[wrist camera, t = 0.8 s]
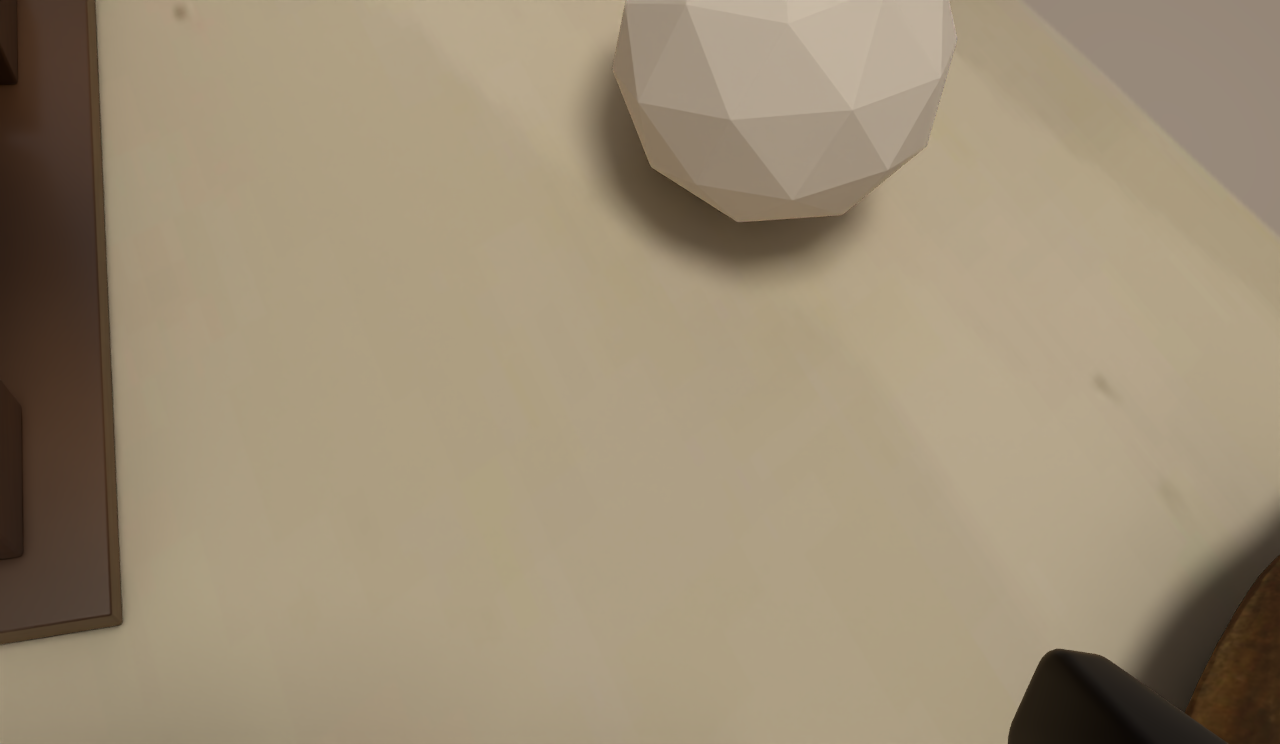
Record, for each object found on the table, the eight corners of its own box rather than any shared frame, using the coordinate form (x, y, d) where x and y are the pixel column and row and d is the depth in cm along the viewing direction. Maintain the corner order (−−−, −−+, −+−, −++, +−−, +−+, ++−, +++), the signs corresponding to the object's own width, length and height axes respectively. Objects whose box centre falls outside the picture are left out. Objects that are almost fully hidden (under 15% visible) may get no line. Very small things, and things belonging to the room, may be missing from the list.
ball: (639, 160, 31) (604, -144, 26) (923, 139, 30) (938, -180, 25) (619, 295, 24) (569, -73, 20) (978, 273, 23) (1011, -118, 19)
